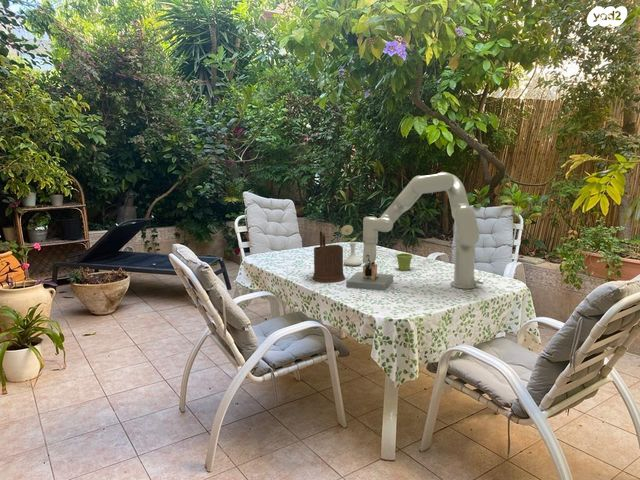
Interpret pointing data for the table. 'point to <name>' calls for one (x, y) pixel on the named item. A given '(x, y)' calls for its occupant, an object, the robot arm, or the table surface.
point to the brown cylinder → (328, 262)
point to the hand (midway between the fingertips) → (370, 274)
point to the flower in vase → (352, 258)
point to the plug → (374, 271)
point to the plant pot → (404, 261)
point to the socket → (369, 281)
